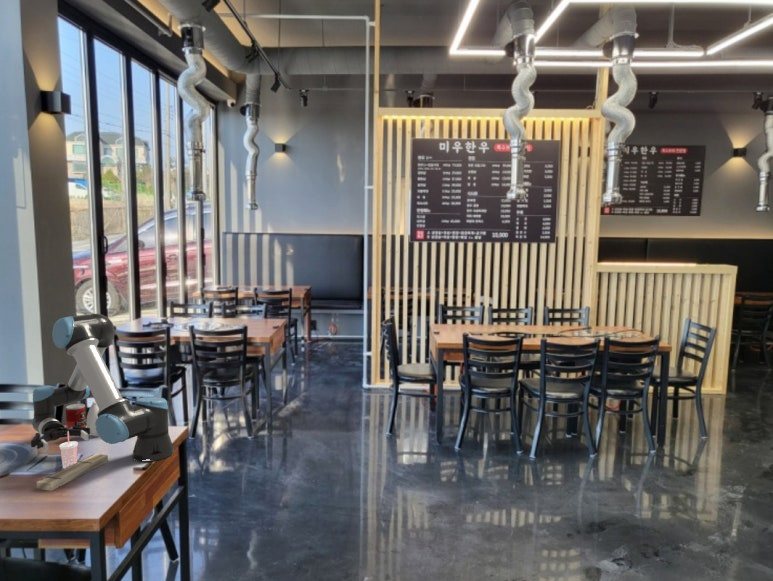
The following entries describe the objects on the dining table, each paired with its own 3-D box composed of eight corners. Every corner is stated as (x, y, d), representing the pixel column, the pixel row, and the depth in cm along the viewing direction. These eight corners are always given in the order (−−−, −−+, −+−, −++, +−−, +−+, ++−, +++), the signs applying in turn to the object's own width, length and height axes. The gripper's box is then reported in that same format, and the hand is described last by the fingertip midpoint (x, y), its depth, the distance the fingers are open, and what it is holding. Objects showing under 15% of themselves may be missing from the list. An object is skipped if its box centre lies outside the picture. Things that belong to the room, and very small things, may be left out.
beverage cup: (71, 462, 204) (70, 427, 203) (82, 465, 202) (81, 429, 201) (56, 468, 199) (54, 432, 198) (67, 471, 196) (66, 434, 195)
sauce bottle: (85, 435, 234) (83, 396, 233) (104, 431, 240) (102, 392, 238) (89, 440, 229) (87, 399, 227) (109, 435, 234) (107, 396, 233)
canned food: (77, 432, 238) (76, 408, 237) (62, 431, 240) (61, 407, 239) (90, 427, 246) (89, 404, 245) (75, 425, 247) (74, 403, 247)
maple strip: (107, 461, 206) (107, 454, 206) (51, 490, 181) (50, 483, 180) (95, 459, 207) (94, 453, 207) (37, 488, 182) (36, 481, 182)
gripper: (85, 430, 224) (103, 443, 209) (15, 446, 206) (29, 461, 191) (84, 413, 223) (102, 424, 209) (14, 427, 205) (28, 441, 191)
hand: (67, 442), depth 200 cm, fingers open, 13 cm apart
